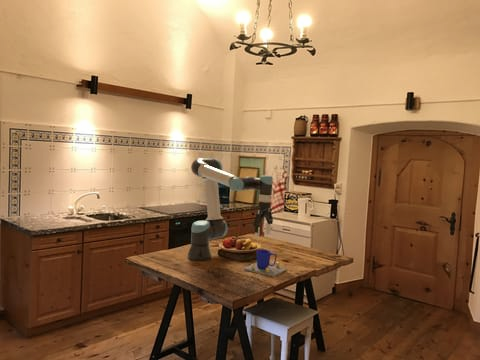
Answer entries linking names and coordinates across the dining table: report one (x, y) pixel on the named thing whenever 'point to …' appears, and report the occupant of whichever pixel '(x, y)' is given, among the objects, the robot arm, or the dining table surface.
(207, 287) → the dining table surface
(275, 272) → the tray
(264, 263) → the mug
